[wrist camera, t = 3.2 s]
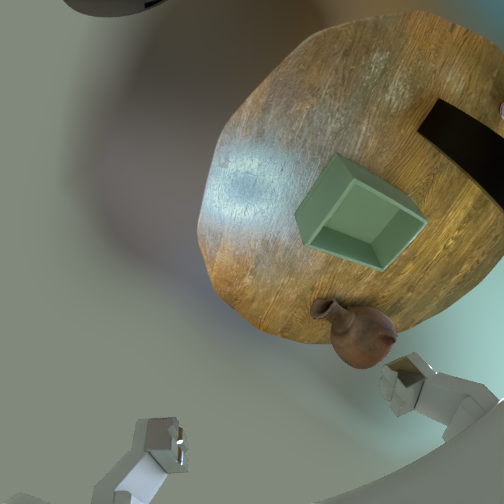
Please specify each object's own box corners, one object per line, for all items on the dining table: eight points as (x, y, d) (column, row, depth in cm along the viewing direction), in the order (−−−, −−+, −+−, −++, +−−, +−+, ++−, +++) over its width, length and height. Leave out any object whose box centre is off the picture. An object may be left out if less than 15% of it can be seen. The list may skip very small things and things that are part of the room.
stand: (416, 131, 44) (545, 264, 19) (438, 97, 39) (583, 213, 13) (440, 152, 48) (551, 278, 22) (461, 122, 42) (583, 236, 16)
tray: (293, 214, 57) (303, 246, 51) (335, 152, 48) (354, 177, 41) (368, 243, 65) (382, 272, 58) (407, 195, 55) (428, 221, 49)
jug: (388, 310, 88) (339, 264, 77) (413, 350, 71) (367, 308, 60) (344, 346, 95) (289, 310, 83) (362, 388, 78) (303, 360, 66)
